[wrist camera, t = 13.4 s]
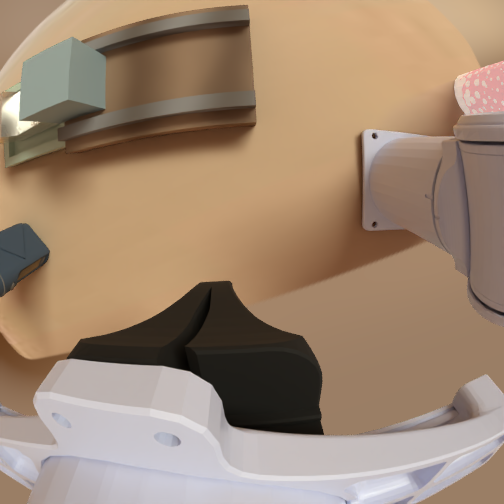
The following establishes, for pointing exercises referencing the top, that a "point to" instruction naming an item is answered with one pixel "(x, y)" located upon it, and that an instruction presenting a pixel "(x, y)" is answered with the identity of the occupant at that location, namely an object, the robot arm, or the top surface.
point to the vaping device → (19, 255)
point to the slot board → (170, 78)
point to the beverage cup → (481, 89)
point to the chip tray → (32, 143)
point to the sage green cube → (62, 83)
